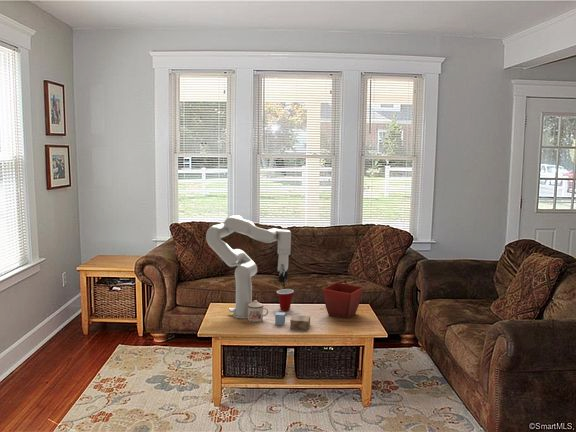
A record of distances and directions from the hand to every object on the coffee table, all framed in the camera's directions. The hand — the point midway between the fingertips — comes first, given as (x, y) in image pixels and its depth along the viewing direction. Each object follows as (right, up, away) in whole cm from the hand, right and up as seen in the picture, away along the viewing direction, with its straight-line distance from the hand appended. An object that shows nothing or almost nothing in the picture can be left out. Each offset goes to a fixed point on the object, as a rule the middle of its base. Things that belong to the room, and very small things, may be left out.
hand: (283, 280), depth 312 cm
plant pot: (+36, -23, +17) cm, 46 cm away
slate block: (-2, -25, -3) cm, 25 cm away
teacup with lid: (-15, -24, +3) cm, 28 cm away
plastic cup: (+1, -22, +26) cm, 34 cm away
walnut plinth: (+10, -25, -8) cm, 28 cm away
